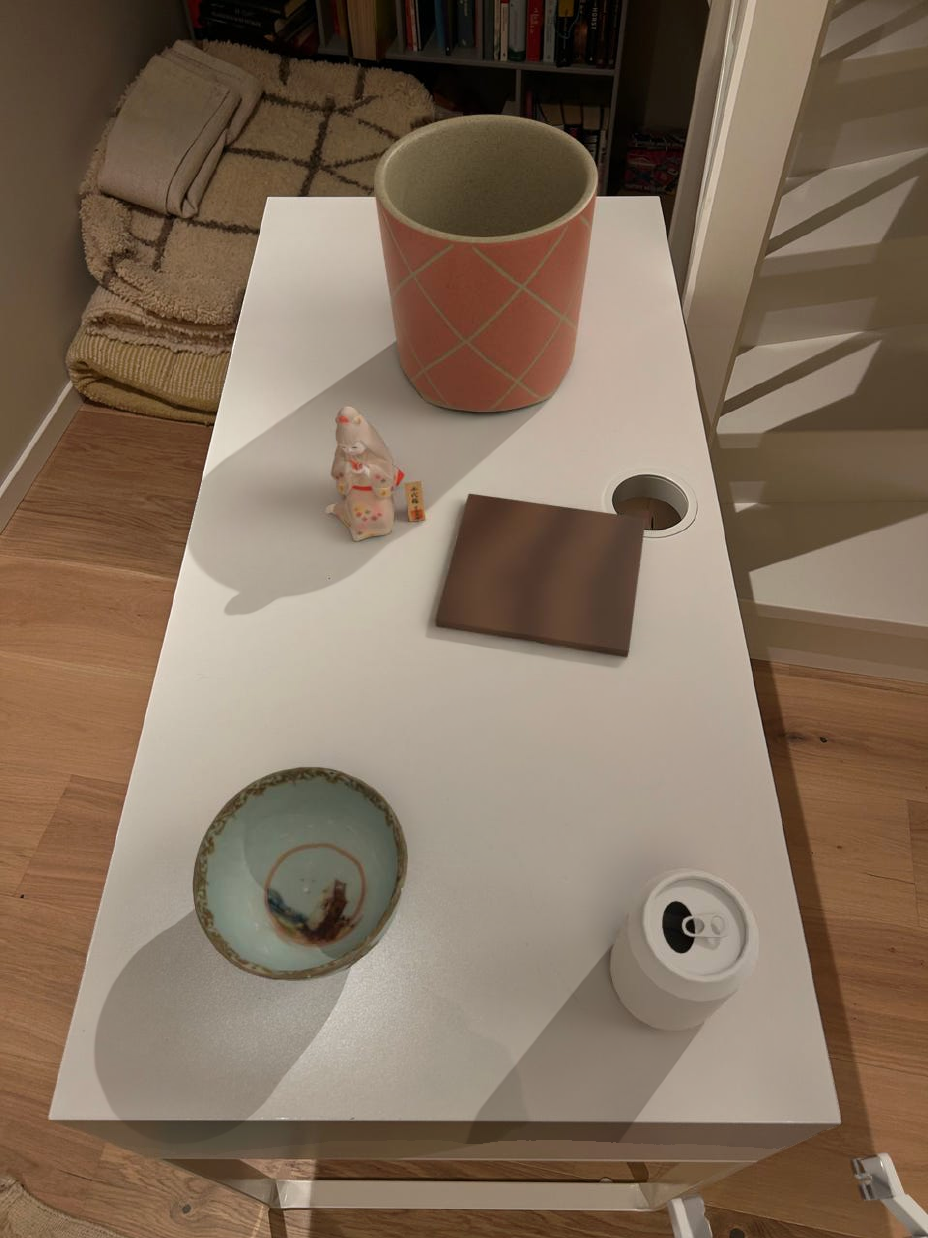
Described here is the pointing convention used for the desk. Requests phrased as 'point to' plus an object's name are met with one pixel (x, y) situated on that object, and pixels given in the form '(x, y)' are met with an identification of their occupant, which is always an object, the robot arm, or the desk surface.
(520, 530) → the board
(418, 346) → the planter
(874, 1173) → the robot arm
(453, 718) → the desk surface
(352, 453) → the figurine
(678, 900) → the can
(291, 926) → the bowl
